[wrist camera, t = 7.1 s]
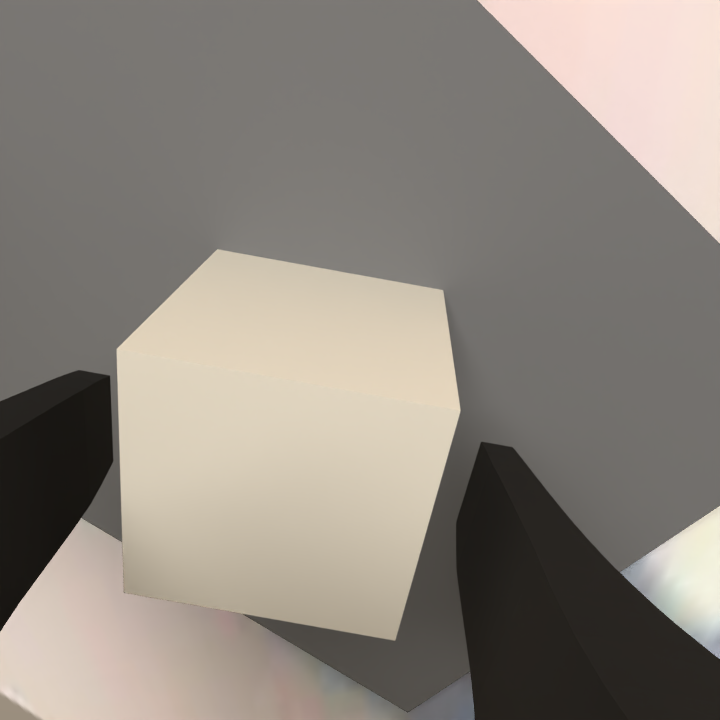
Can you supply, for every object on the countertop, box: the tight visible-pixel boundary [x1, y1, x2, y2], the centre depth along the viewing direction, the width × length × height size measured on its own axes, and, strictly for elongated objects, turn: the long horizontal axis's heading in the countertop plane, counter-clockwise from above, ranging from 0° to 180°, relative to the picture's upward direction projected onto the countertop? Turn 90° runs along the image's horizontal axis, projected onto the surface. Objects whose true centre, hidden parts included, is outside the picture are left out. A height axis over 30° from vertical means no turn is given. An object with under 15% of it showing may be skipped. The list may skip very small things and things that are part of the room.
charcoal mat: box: [0, 0, 720, 712], centre depth 14 cm, size 20×16×1 cm
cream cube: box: [117, 249, 461, 641], centre depth 12 cm, size 5×5×5 cm
